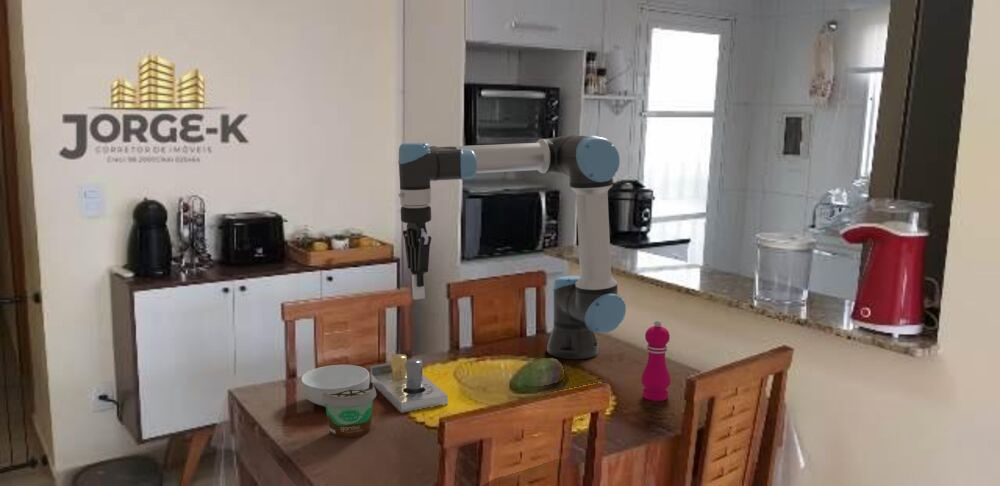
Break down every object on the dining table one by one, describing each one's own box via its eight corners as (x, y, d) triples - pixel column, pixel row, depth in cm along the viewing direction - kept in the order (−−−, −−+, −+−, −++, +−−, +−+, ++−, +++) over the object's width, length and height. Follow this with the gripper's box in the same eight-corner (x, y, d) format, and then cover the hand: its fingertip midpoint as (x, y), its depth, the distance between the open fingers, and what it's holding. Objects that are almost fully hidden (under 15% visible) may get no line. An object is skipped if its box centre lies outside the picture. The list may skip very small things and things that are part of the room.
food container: (328, 444, 174) (326, 400, 172) (322, 433, 179) (321, 391, 178) (383, 435, 179) (382, 392, 177) (376, 425, 184) (375, 383, 183)
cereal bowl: (298, 395, 203) (297, 368, 202) (363, 387, 209) (362, 361, 208) (306, 419, 188) (305, 390, 187) (376, 410, 193) (375, 382, 192)
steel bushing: (419, 395, 203) (418, 357, 201) (424, 400, 199) (424, 362, 198) (404, 398, 201) (403, 359, 199) (409, 403, 198) (409, 364, 196)
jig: (413, 375, 218) (412, 347, 216) (447, 404, 197) (447, 373, 195) (370, 382, 213) (369, 353, 211) (401, 412, 191) (400, 381, 190)
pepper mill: (651, 389, 207) (654, 315, 203) (675, 396, 202) (678, 320, 198) (635, 396, 202) (637, 320, 198) (659, 404, 197) (661, 326, 193)
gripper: (392, 204, 201) (395, 294, 205) (411, 209, 190) (414, 306, 194) (419, 201, 205) (422, 291, 209) (440, 207, 193) (443, 301, 197)
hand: (418, 298), depth 201 cm, fingers closed
